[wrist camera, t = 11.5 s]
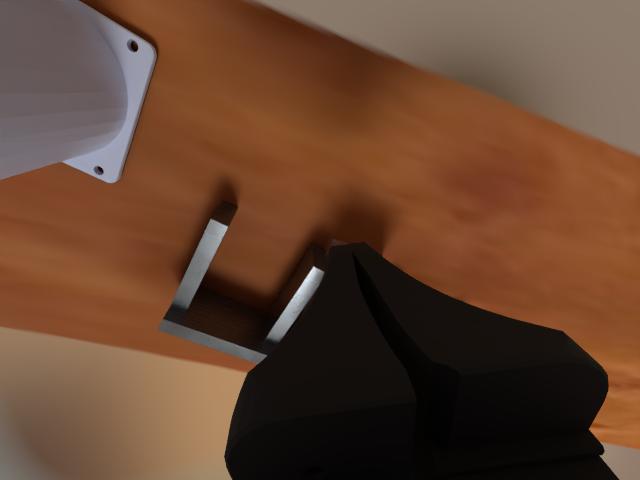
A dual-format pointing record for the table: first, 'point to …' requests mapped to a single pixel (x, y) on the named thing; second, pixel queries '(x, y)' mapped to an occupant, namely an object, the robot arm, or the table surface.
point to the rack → (230, 315)
